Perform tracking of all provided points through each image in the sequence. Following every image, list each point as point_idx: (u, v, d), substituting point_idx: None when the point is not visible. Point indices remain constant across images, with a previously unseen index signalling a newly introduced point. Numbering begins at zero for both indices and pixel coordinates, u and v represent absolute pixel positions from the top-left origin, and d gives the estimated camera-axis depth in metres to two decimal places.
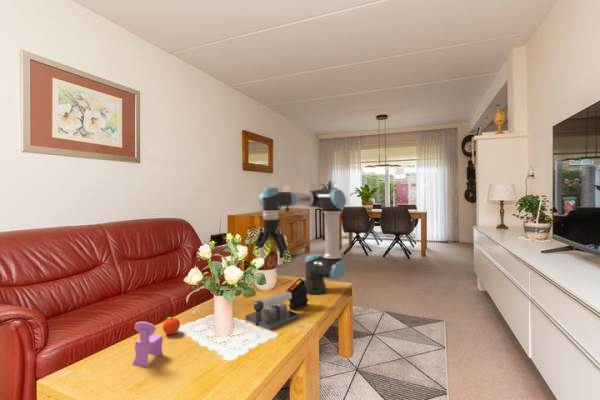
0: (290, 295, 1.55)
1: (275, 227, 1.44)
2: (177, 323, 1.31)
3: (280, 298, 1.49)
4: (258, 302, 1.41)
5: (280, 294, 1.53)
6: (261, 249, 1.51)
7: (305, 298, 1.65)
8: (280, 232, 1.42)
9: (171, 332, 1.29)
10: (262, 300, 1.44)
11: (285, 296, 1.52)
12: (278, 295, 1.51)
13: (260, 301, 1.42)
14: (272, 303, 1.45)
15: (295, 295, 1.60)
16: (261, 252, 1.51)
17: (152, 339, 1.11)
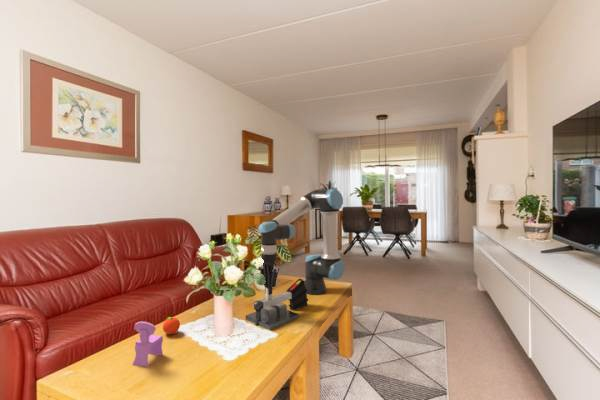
0: (290, 295, 1.55)
1: (273, 262, 1.47)
2: (177, 323, 1.31)
3: (280, 298, 1.49)
4: (258, 302, 1.41)
5: (280, 294, 1.53)
6: None
7: (305, 298, 1.65)
8: (276, 272, 1.46)
9: (171, 332, 1.29)
10: (262, 300, 1.44)
11: (285, 296, 1.52)
12: (278, 295, 1.51)
13: (260, 301, 1.42)
14: (272, 303, 1.45)
15: (295, 295, 1.60)
16: None
17: (152, 339, 1.11)
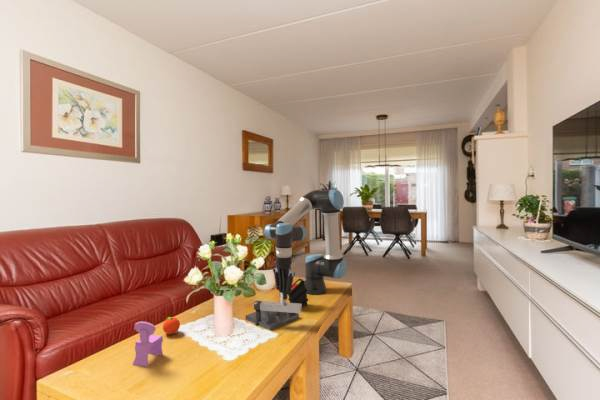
0: (298, 309, 1.36)
1: (288, 265, 1.40)
2: (177, 323, 1.31)
3: (283, 307, 1.37)
4: (257, 302, 1.41)
5: (289, 303, 1.39)
6: None
7: (305, 298, 1.65)
8: (292, 276, 1.39)
9: (171, 332, 1.29)
10: (264, 302, 1.41)
11: (290, 307, 1.36)
12: (285, 304, 1.39)
13: (260, 302, 1.41)
14: (271, 309, 1.38)
15: (295, 295, 1.60)
16: None
17: (152, 339, 1.11)
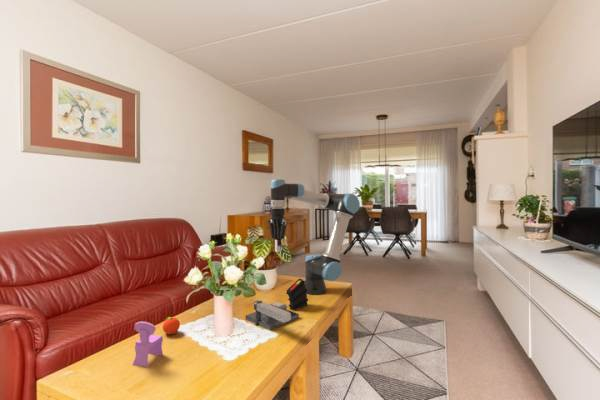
0: (282, 317, 1.26)
1: (282, 215, 1.60)
2: (177, 323, 1.31)
3: (271, 312, 1.31)
4: (257, 302, 1.41)
5: (279, 310, 1.31)
6: None
7: (305, 298, 1.65)
8: (285, 224, 1.59)
9: (171, 332, 1.29)
10: (262, 303, 1.40)
11: (276, 314, 1.28)
12: (276, 309, 1.32)
13: (259, 302, 1.40)
14: (264, 311, 1.35)
15: (295, 295, 1.60)
16: None
17: (152, 339, 1.11)
